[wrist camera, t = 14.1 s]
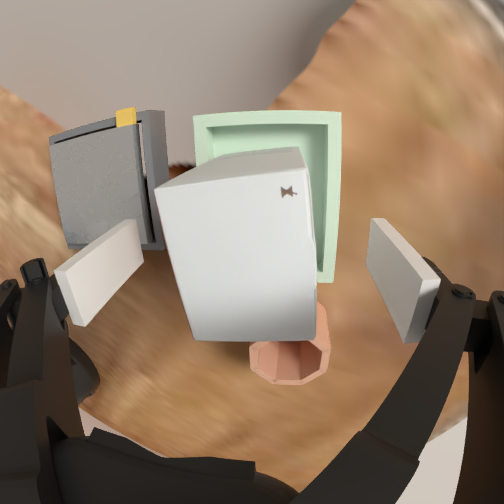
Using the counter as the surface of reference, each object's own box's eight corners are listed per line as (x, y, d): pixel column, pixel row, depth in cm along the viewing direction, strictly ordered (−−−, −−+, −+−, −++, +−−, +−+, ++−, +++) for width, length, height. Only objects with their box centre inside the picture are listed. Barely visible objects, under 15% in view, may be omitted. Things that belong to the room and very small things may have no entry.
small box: (222, 153, 22) (148, 185, 11) (300, 145, 21) (312, 164, 10) (236, 244, 26) (192, 344, 14) (308, 239, 25) (319, 342, 13)
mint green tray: (214, 266, 28) (207, 279, 25) (202, 116, 22) (192, 115, 20) (329, 269, 26) (333, 282, 24) (335, 113, 20) (340, 112, 18)
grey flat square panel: (72, 239, 25) (66, 243, 24) (56, 144, 21) (49, 146, 20) (152, 239, 24) (147, 244, 23) (138, 123, 20) (132, 124, 19)
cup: (258, 342, 31) (251, 382, 26) (256, 290, 28) (248, 329, 23) (320, 344, 30) (323, 384, 25) (327, 291, 27) (334, 331, 22)
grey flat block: (84, 237, 28) (65, 250, 25) (67, 129, 23) (44, 133, 20) (176, 237, 27) (161, 253, 24) (163, 106, 22) (144, 104, 18)
